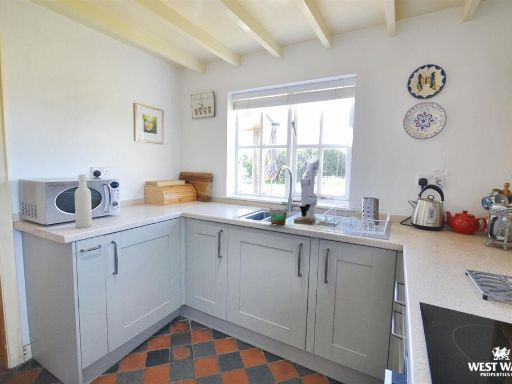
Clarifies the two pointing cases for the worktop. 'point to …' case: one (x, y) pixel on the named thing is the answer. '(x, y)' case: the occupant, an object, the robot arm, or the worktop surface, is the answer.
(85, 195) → the bottle
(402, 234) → the worktop surface
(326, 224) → the mat
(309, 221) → the block
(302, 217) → the steel peg
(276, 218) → the food container
